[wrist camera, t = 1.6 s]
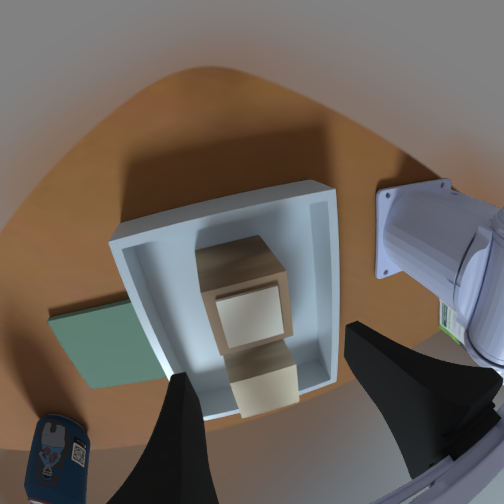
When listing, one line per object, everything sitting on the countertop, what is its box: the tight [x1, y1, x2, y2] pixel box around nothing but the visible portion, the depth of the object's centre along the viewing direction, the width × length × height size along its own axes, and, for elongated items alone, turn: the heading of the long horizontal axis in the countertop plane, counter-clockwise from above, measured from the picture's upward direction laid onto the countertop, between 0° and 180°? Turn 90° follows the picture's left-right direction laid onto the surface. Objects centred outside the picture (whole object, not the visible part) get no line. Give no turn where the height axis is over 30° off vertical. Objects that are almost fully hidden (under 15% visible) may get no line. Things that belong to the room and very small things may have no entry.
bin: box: [109, 179, 340, 421], centre depth 21 cm, size 13×17×4 cm
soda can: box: [24, 414, 90, 504], centre depth 18 cm, size 7×7×12 cm
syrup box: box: [439, 298, 504, 385], centre depth 23 cm, size 6×6×14 cm
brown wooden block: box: [194, 235, 293, 356], centre depth 18 cm, size 4×4×6 cm
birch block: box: [223, 339, 299, 418], centre depth 21 cm, size 4×4×6 cm
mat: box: [47, 299, 167, 389], centre depth 21 cm, size 8×8×1 cm
